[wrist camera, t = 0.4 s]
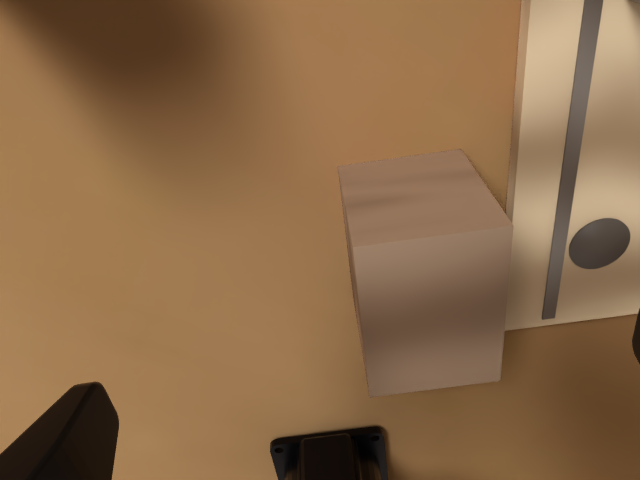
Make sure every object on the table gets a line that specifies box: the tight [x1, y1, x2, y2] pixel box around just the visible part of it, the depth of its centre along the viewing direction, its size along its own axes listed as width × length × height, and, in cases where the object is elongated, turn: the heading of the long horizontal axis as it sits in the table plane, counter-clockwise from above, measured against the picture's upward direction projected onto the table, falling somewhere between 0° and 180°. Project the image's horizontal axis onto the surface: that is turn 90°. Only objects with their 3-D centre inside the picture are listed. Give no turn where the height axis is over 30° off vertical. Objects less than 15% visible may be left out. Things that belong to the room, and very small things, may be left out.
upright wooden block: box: [338, 149, 514, 397], centre depth 21 cm, size 7×5×6 cm
